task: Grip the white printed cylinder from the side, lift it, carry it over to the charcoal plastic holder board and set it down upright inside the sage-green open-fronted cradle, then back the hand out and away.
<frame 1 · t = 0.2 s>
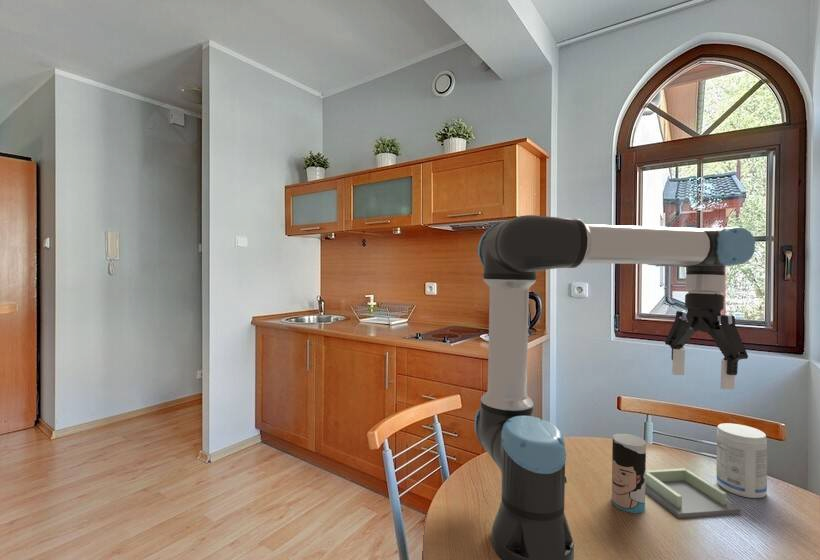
hand: (700, 381, 95), 27 cm above the table, tool pointing down, fingers open, 13 cm apart
phone: (533, 476, 104), on the table
white printed cylinder: (628, 505, 91), on the table
cup holder: (682, 496, 94), on the table
supplement tub: (740, 489, 97), on the table
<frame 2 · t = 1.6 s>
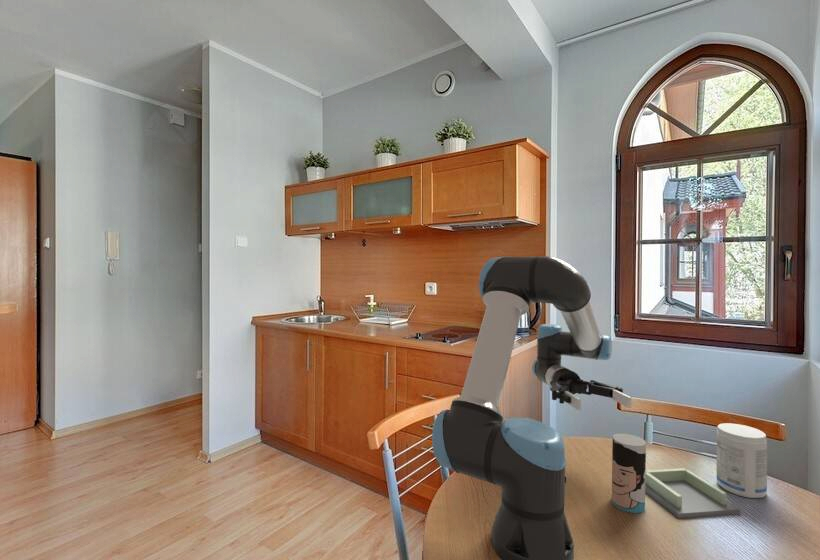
hand: (604, 403, 100), 20 cm above the table, tool horizontal, fingers open, 13 cm apart
nothing on the table moved.
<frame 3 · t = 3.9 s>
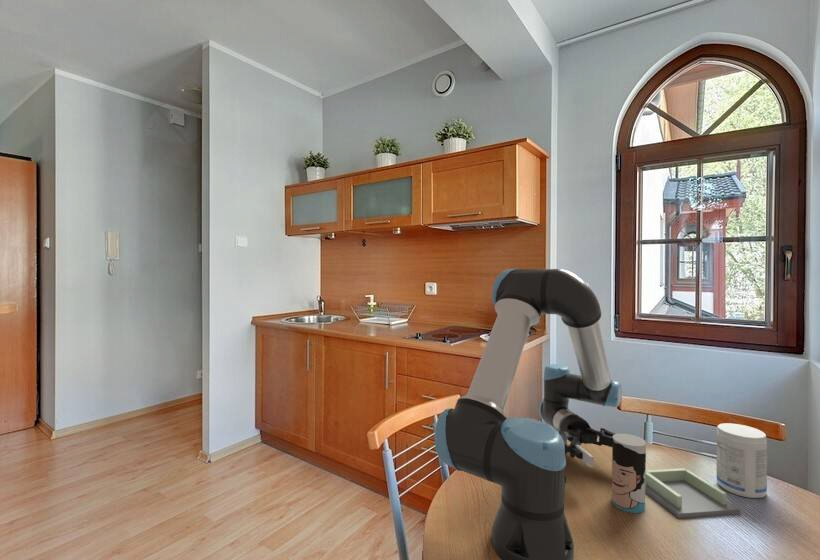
hand: (618, 461, 95), 8 cm above the table, tool horizontal, fingers open, 13 cm apart
nothing on the table moved.
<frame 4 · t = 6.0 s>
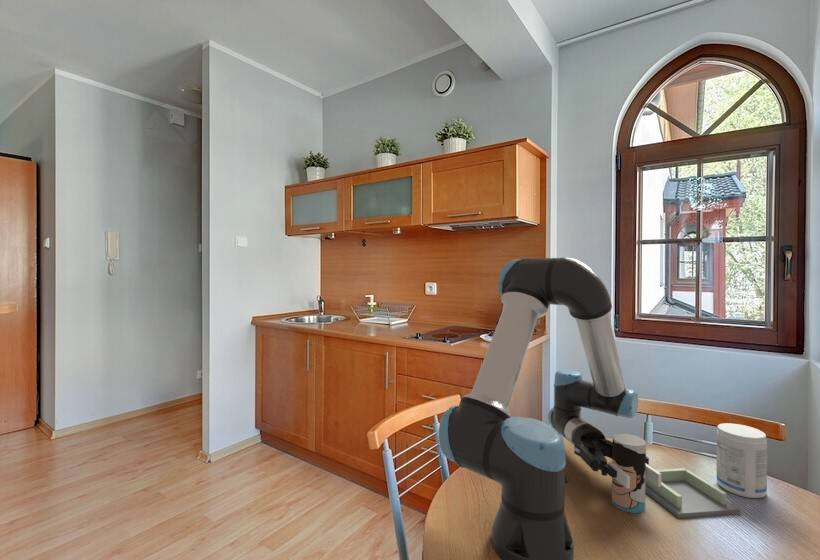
hand: (644, 481, 85), 8 cm above the table, tool horizontal, fingers closed on white printed cylinder, 7 cm apart
white printed cylinder: (628, 505, 91), on the table, touching gripper
everything else where it was.
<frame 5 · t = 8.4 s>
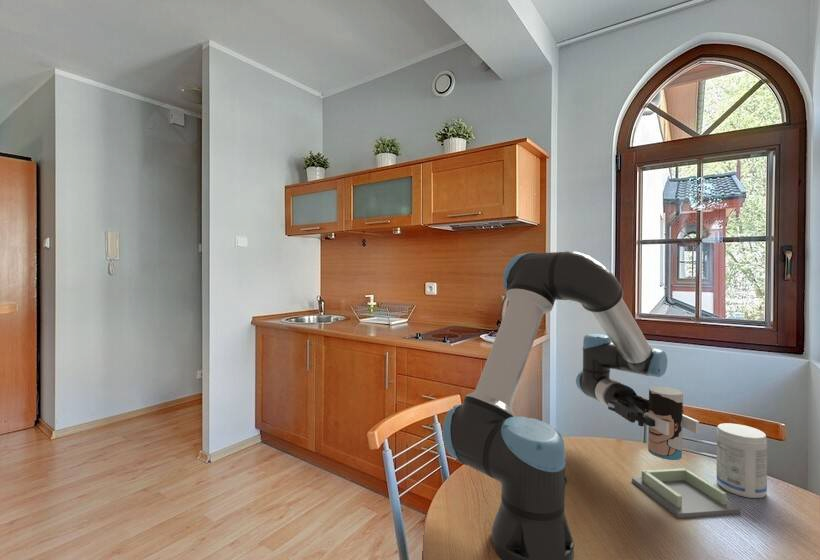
hand: (682, 428, 88), 18 cm above the table, tool horizontal, fingers closed on white printed cylinder, 7 cm apart
white printed cylinder: (664, 454, 93), point 10 cm above the table, touching gripper
everything else where it was.
when the fingers open (10 cm above the table, at t = 11.0 s): white printed cylinder drops 1 cm, resting on cup holder.
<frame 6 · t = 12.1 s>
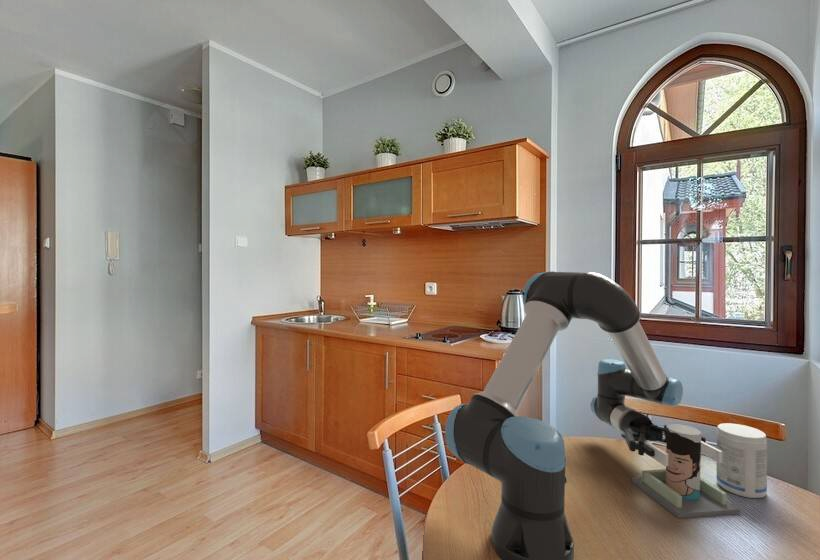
hand: (694, 458, 91), 11 cm above the table, tool horizontal, fingers open, 13 cm apart
white printed cylinder: (682, 492, 94), point 1 cm above the table, touching cup holder
everything else where it was.
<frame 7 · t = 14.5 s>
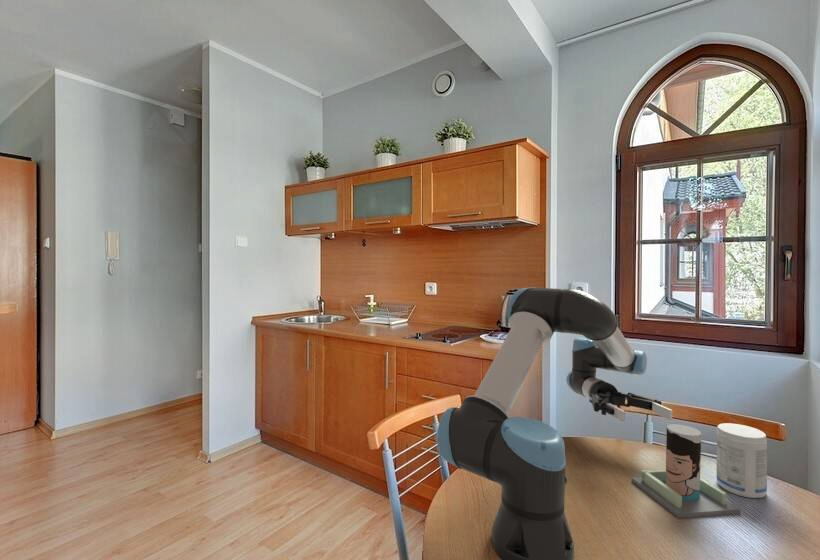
hand: (647, 415, 104), 15 cm above the table, tool horizontal, fingers open, 13 cm apart
nothing on the table moved.
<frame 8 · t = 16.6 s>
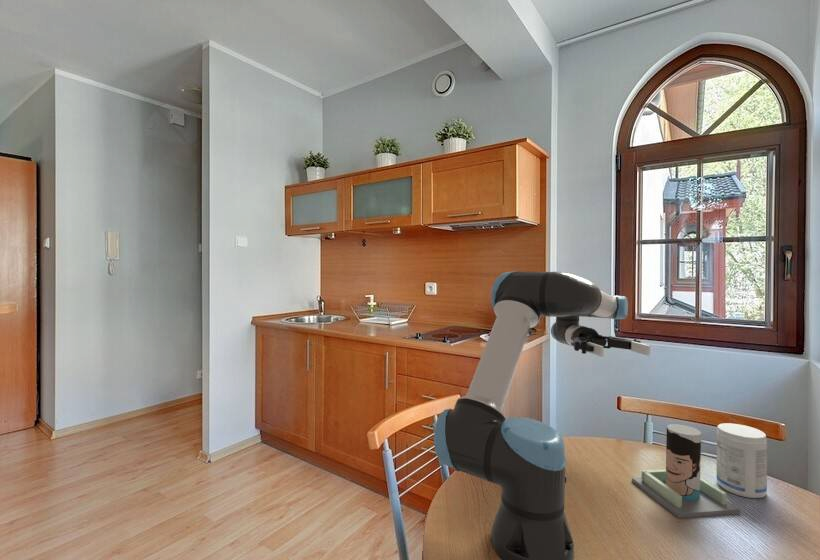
hand: (625, 351, 107), 32 cm above the table, tool horizontal, fingers open, 13 cm apart
nothing on the table moved.
at the end: white printed cylinder 0.1 cm off-centre on the cup holder, point 0.8 cm above the cup holder's base; white printed cylinder tilted 0°; the gripper is holding nothing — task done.
